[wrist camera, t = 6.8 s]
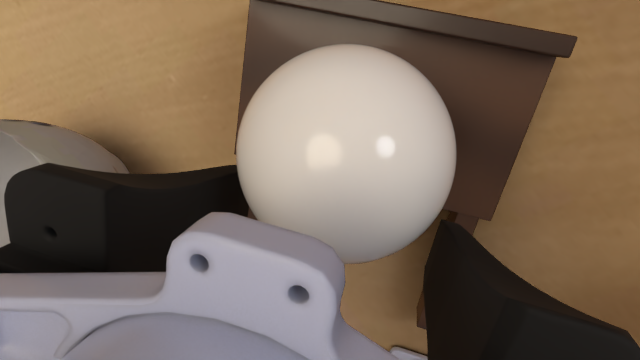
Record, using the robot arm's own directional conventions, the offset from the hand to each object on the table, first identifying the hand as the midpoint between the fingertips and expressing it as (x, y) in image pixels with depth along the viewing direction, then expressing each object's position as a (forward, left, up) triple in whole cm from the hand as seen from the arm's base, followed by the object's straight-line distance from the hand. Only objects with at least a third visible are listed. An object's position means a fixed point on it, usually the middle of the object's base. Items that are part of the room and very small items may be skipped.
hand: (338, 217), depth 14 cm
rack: (-1, 0, -10) cm, 10 cm away
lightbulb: (+3, 0, -6) cm, 7 cm away
